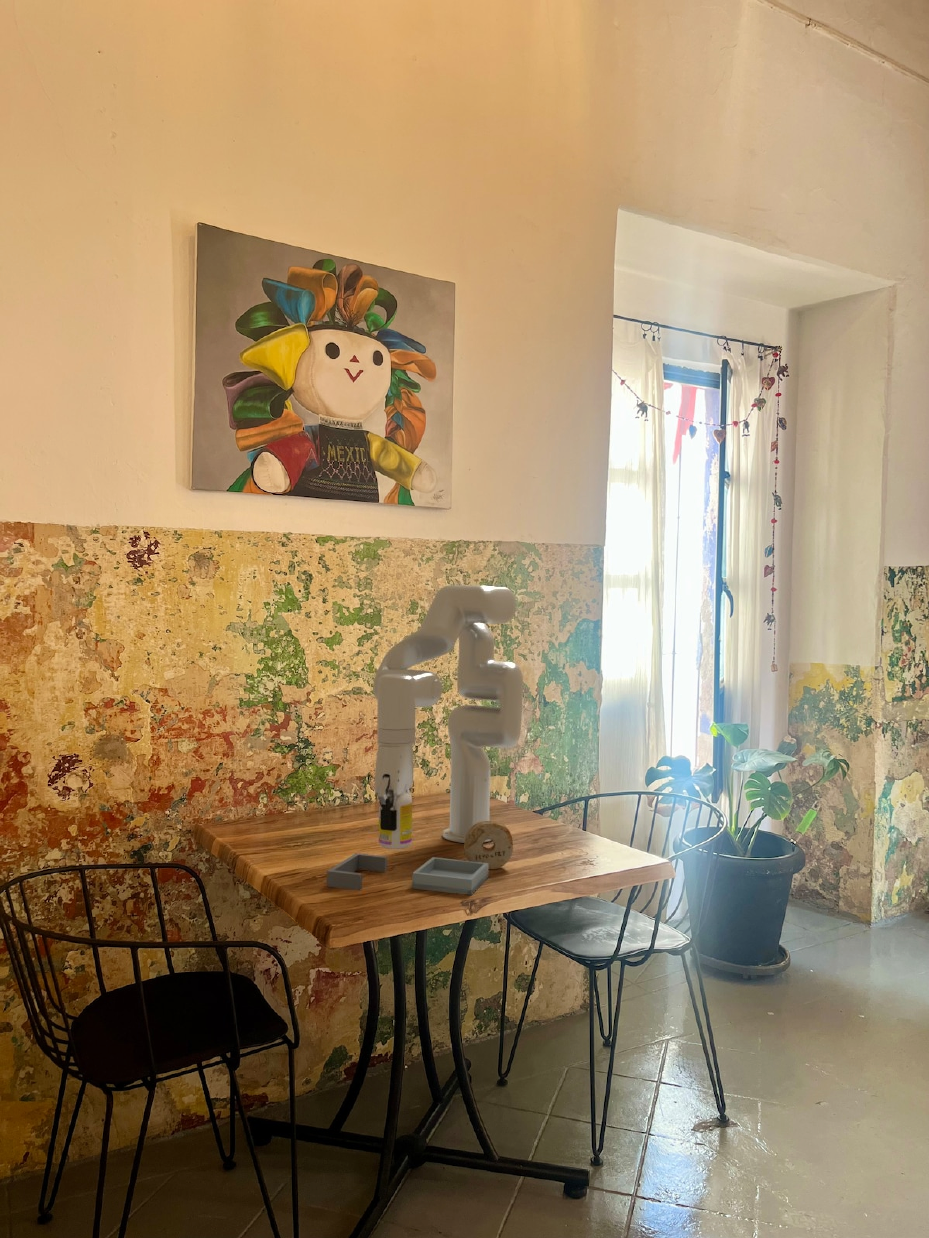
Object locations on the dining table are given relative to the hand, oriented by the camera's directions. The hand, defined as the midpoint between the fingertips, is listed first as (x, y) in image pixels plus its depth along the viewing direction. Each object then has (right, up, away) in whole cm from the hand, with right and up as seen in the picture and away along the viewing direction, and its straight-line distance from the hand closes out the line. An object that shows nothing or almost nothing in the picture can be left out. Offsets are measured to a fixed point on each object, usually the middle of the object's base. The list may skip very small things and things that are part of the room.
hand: (395, 824), depth 183 cm
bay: (-8, -11, +2) cm, 14 cm away
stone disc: (+19, -12, +11) cm, 25 cm away
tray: (+11, -12, 0) cm, 16 cm away
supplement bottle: (0, -4, 0) cm, 4 cm away
